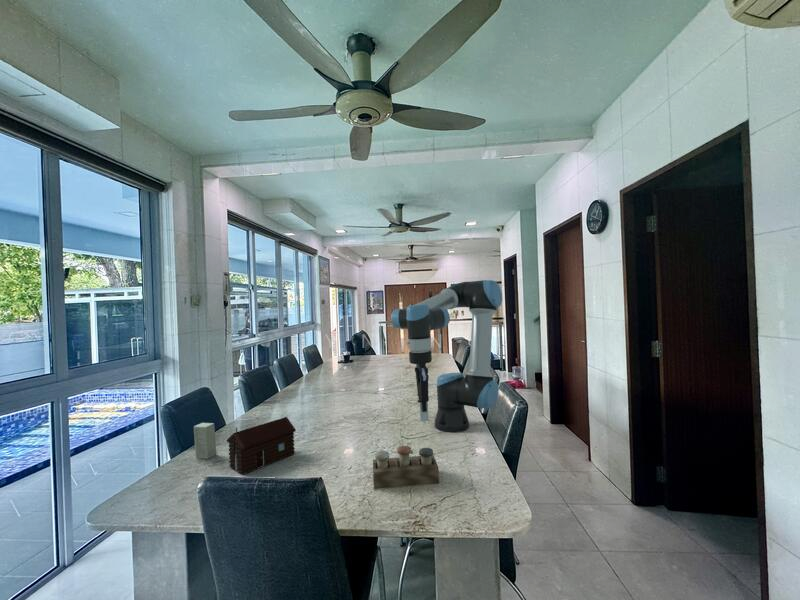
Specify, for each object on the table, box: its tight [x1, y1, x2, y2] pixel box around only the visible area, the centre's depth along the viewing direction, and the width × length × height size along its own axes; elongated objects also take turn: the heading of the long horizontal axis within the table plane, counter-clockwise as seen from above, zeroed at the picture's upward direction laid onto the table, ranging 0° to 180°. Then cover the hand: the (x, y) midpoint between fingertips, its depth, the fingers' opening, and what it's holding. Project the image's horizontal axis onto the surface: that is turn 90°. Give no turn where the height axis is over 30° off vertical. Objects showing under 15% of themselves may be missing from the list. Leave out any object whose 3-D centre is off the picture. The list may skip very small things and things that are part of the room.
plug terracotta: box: [396, 445, 412, 467], centre depth 115 cm, size 4×4×8 cm
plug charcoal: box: [418, 447, 434, 465], centre depth 116 cm, size 4×4×8 cm
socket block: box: [372, 454, 440, 490], centre depth 115 cm, size 20×9×5 cm, turn 95°
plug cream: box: [374, 450, 390, 468], centre depth 115 cm, size 4×4×8 cm
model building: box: [226, 416, 296, 474], centre depth 133 cm, size 21×12×15 cm, turn 140°
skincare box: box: [193, 422, 217, 460], centre depth 139 cm, size 6×4×12 cm
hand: (424, 420), depth 123 cm, fingers closed
